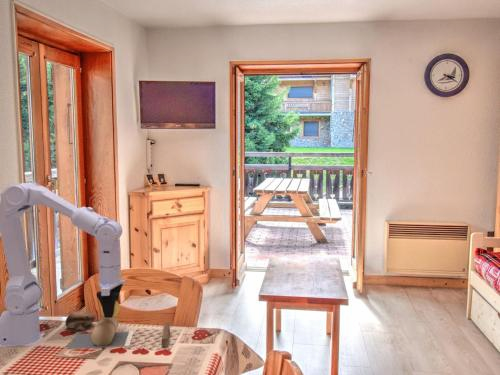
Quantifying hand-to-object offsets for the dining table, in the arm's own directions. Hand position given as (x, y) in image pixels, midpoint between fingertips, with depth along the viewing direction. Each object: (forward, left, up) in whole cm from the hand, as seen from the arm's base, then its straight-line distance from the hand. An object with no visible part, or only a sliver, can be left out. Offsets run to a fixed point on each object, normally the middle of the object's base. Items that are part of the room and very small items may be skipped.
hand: (110, 313), depth 125 cm
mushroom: (-10, +10, -8) cm, 17 cm away
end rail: (+15, 0, -8) cm, 17 cm away
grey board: (-2, 0, -8) cm, 8 cm away
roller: (-1, 0, -8) cm, 8 cm away
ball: (0, 0, -1) cm, 1 cm away
